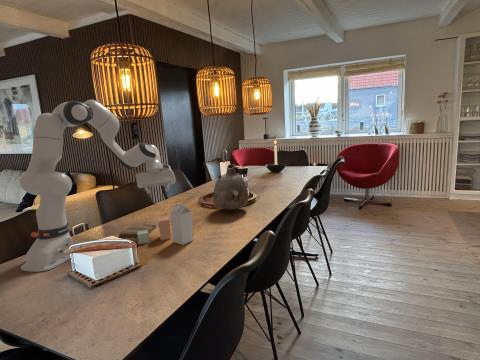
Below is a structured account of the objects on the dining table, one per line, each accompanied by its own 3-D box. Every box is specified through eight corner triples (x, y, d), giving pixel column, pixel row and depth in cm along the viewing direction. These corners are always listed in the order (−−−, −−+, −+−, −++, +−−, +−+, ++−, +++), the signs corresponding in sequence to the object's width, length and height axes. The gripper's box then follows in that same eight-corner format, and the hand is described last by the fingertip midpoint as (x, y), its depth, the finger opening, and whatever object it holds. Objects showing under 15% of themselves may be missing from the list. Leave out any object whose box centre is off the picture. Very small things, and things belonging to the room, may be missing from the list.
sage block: (149, 242, 153) (148, 232, 152) (138, 244, 152) (137, 234, 151) (148, 238, 158) (147, 229, 157) (138, 240, 156) (137, 231, 155)
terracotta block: (170, 238, 157) (169, 219, 155) (160, 240, 155) (158, 221, 153) (169, 235, 161) (167, 216, 159) (159, 236, 160) (157, 218, 158)
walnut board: (144, 237, 160) (144, 234, 160) (119, 236, 162) (119, 234, 162) (156, 227, 173) (155, 225, 173) (132, 227, 176) (132, 224, 175)
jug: (206, 210, 200) (203, 164, 194) (233, 203, 213) (230, 160, 207) (230, 219, 182) (228, 168, 175) (257, 211, 195) (256, 163, 189)
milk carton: (184, 237, 157) (181, 201, 154) (193, 240, 153) (191, 203, 149) (173, 242, 152) (169, 204, 148) (182, 245, 148) (179, 206, 144)
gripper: (134, 169, 167) (137, 191, 160) (173, 165, 174) (177, 186, 167) (135, 176, 172) (138, 197, 165) (172, 172, 179) (177, 192, 172)
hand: (158, 191), depth 166 cm, fingers open, 8 cm apart
